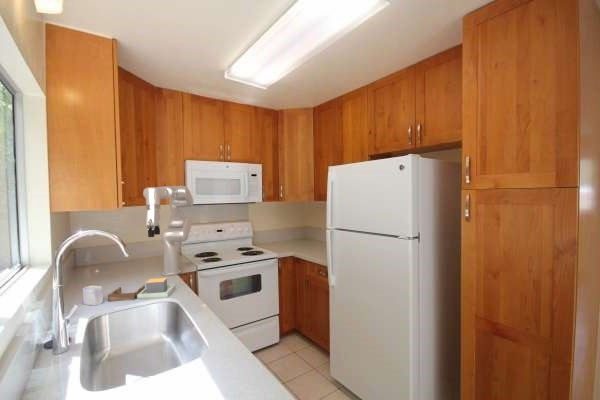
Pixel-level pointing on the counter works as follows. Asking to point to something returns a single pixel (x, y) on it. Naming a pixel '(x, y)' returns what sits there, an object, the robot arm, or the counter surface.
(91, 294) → the medicine box
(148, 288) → the caddy
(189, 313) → the counter surface
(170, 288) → the tray
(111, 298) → the bay
